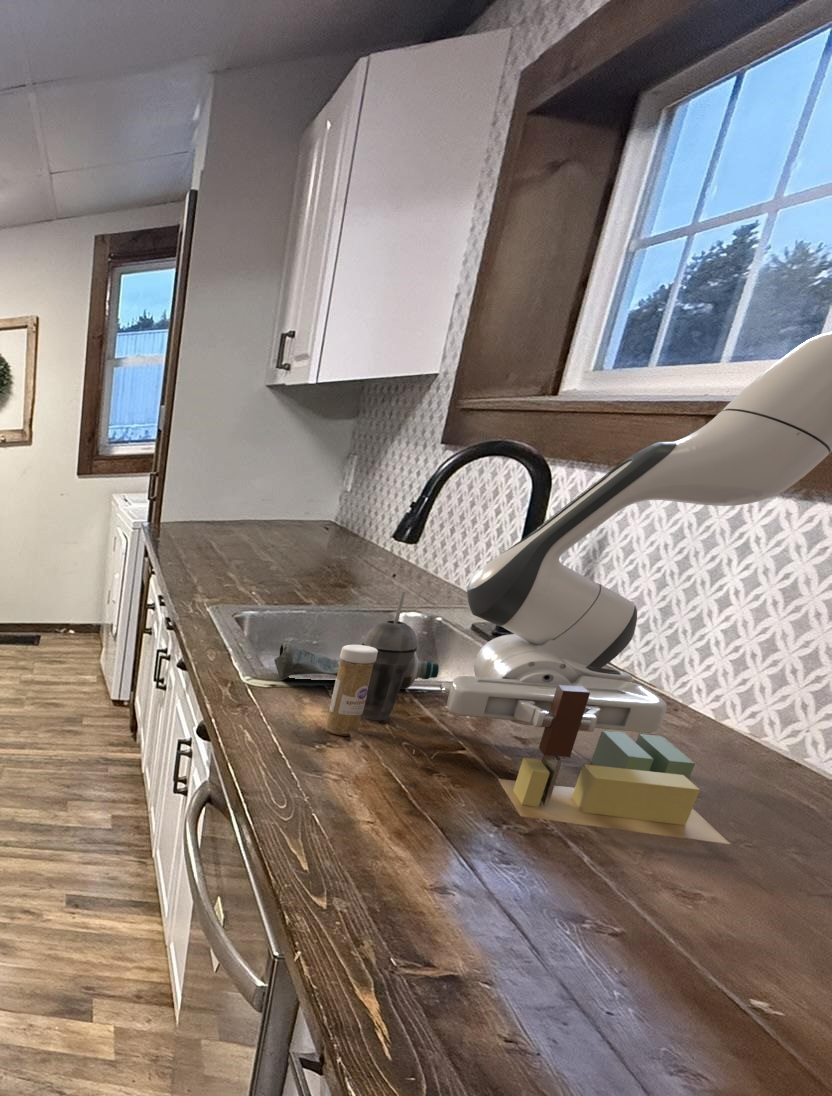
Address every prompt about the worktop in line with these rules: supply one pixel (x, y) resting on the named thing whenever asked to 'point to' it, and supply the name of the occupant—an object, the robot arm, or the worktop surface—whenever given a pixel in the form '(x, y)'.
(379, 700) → the beverage cup
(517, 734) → the worktop surface
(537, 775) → the butter slice
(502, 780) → the butter board
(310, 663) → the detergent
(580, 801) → the butter
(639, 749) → the knife block
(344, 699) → the sprinkles bottle
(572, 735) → the wood-handled putty knife
